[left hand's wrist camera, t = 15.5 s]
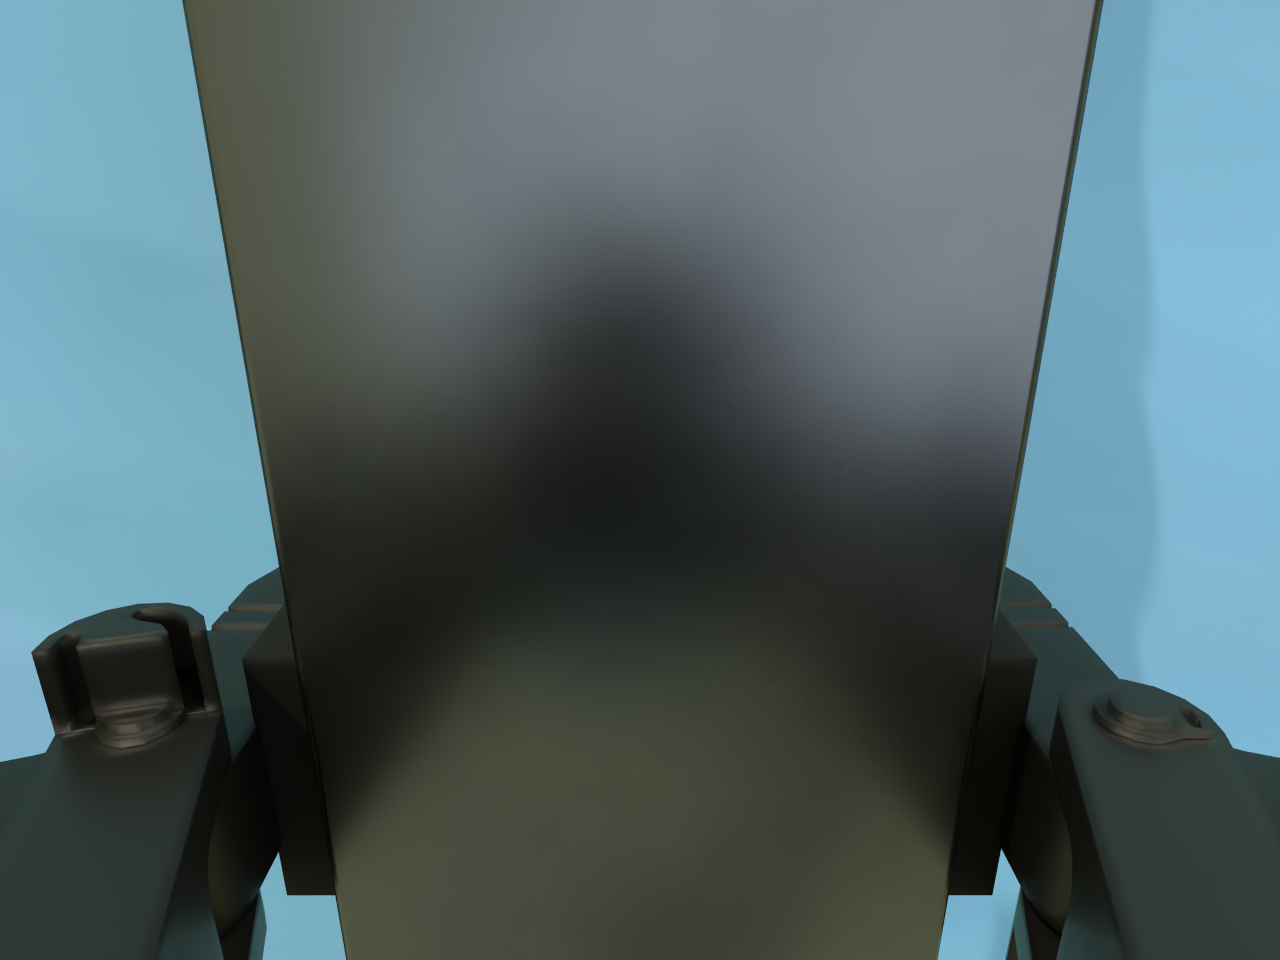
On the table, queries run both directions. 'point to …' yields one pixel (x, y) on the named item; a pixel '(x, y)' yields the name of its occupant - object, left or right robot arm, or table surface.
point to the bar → (642, 445)
